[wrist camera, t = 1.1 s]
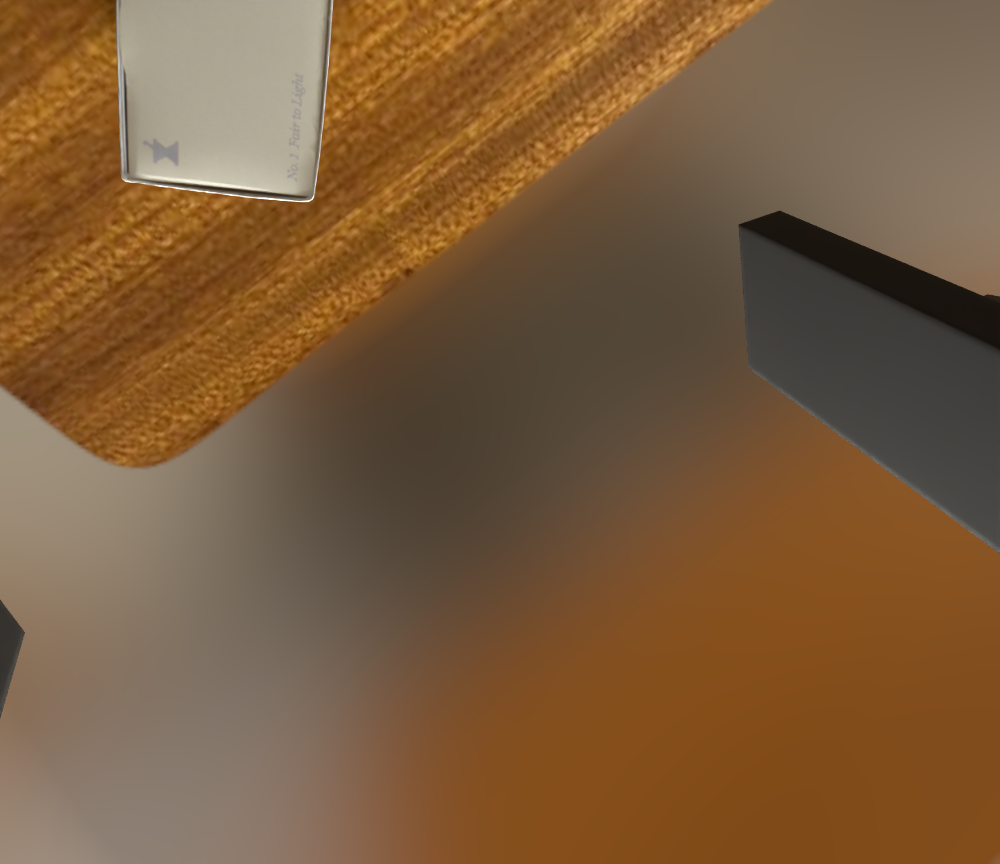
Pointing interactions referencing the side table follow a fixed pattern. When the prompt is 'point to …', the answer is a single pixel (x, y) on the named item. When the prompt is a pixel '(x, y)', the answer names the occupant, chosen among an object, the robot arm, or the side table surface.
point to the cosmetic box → (223, 94)
